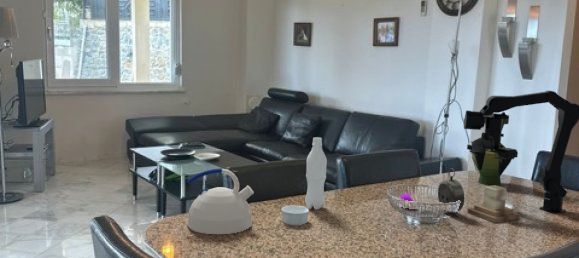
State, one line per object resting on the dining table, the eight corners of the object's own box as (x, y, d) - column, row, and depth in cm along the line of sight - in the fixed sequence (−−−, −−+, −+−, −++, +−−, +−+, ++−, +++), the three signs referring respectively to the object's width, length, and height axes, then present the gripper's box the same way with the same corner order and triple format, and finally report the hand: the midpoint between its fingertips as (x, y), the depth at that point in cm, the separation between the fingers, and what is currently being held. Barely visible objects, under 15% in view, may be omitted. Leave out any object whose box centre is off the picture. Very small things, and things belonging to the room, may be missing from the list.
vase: (472, 186, 229) (478, 115, 225) (467, 177, 245) (472, 111, 240) (513, 188, 226) (520, 117, 222) (505, 180, 242) (511, 113, 238)
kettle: (253, 235, 161) (254, 176, 159) (183, 235, 160) (183, 175, 157) (253, 215, 181) (254, 162, 179) (190, 214, 180) (190, 161, 177)
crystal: (396, 205, 197) (396, 193, 197) (409, 204, 199) (410, 192, 198) (402, 209, 192) (403, 197, 192) (416, 208, 194) (417, 196, 193)
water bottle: (301, 209, 189) (304, 138, 186) (308, 203, 196) (311, 135, 192) (321, 211, 187) (324, 140, 183) (327, 206, 193) (330, 137, 189)
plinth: (491, 209, 196) (492, 201, 195) (519, 218, 185) (520, 210, 185) (467, 212, 190) (468, 204, 190) (494, 222, 180) (495, 214, 179)
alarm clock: (464, 218, 184) (467, 171, 182) (449, 218, 183) (453, 172, 181) (447, 208, 195) (450, 164, 192) (433, 209, 193) (436, 165, 191)
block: (493, 204, 191) (494, 185, 190) (504, 208, 186) (506, 188, 185) (483, 206, 188) (484, 186, 187) (494, 210, 184) (496, 190, 183)
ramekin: (291, 216, 181) (291, 203, 181) (313, 221, 176) (314, 208, 176) (275, 222, 174) (276, 209, 173) (298, 228, 169) (298, 215, 168)
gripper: (457, 127, 201) (454, 168, 203) (498, 135, 184) (494, 180, 187) (479, 126, 206) (476, 166, 208) (520, 134, 189) (516, 177, 192)
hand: (489, 172), depth 198 cm, fingers open, 9 cm apart
